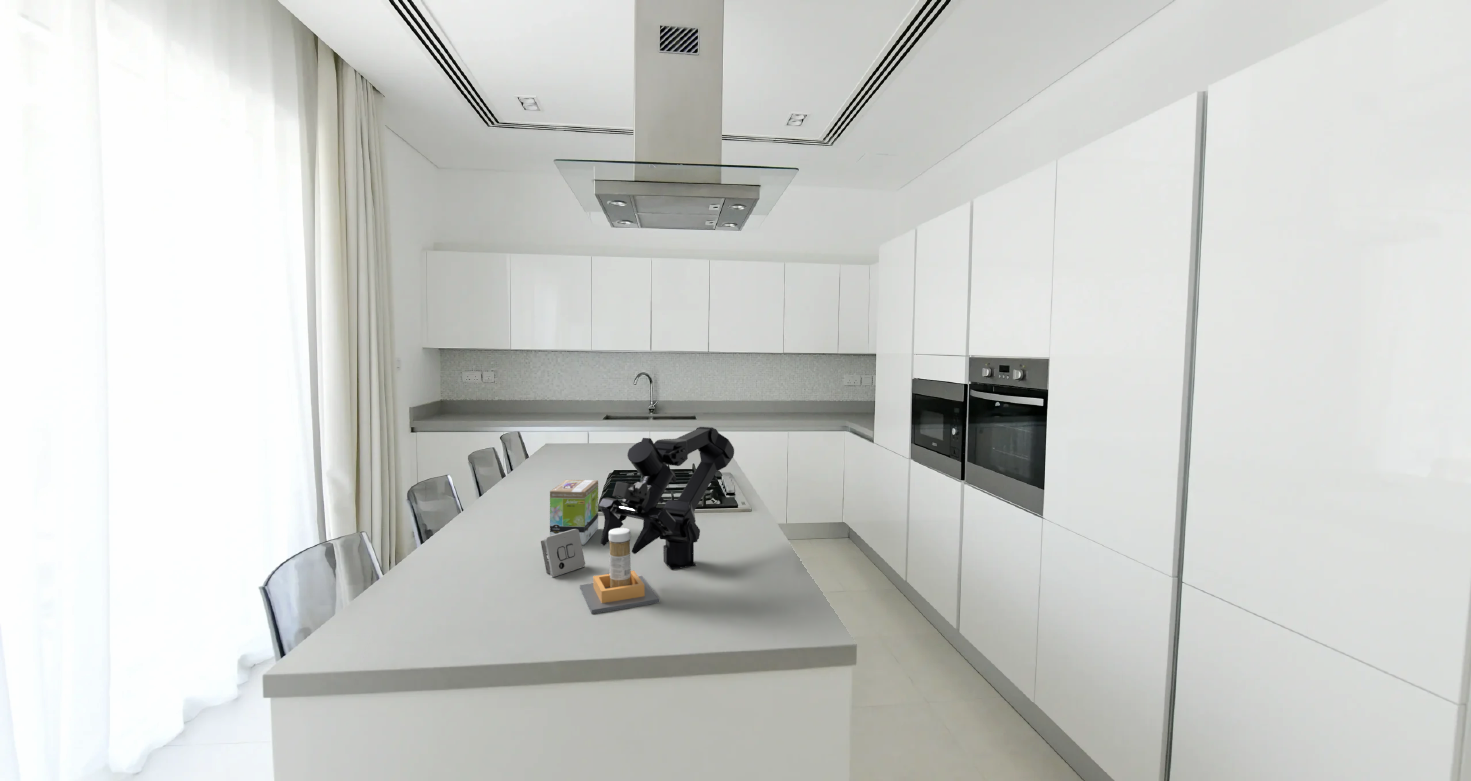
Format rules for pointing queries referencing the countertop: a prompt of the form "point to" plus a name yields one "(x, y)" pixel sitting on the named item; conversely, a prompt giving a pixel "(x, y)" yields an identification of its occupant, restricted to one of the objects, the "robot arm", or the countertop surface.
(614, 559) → the sprinkles bottle
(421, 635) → the countertop surface
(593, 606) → the socket
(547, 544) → the electrical switch
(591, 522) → the tea box
